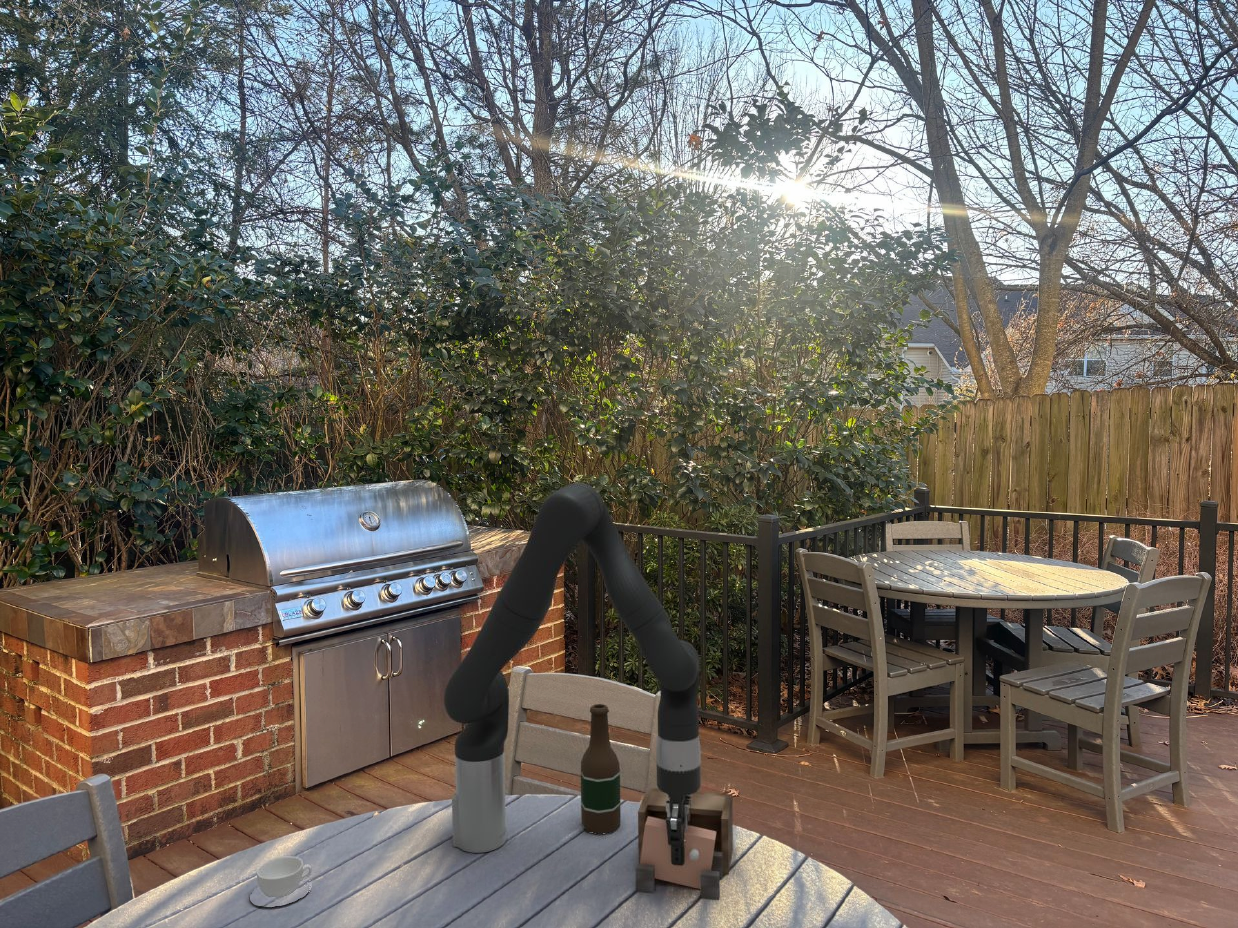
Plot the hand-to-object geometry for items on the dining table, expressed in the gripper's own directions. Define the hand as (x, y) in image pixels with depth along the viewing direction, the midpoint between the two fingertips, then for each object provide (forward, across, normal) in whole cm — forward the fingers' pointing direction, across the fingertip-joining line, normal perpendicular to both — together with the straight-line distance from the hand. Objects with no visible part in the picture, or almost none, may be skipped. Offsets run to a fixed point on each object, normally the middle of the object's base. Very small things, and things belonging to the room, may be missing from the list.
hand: (679, 858), depth 146 cm
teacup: (+5, -15, +66) cm, 68 cm away
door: (+4, 0, +1) cm, 4 cm away
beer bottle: (+5, +18, +18) cm, 26 cm away
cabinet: (+4, +5, 0) cm, 7 cm away
